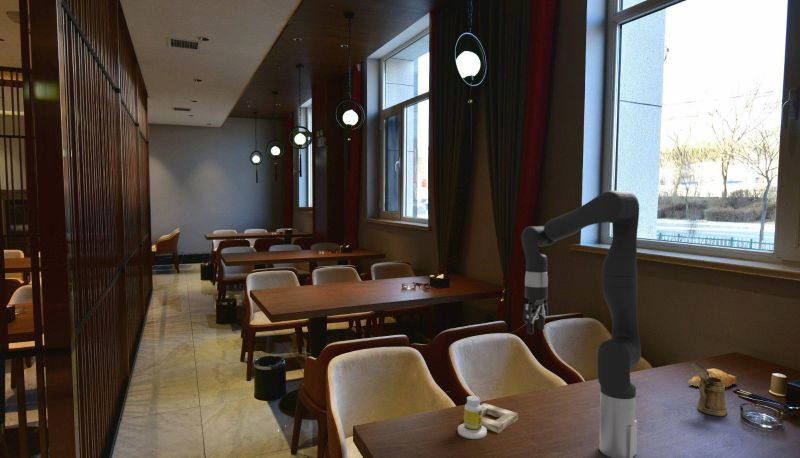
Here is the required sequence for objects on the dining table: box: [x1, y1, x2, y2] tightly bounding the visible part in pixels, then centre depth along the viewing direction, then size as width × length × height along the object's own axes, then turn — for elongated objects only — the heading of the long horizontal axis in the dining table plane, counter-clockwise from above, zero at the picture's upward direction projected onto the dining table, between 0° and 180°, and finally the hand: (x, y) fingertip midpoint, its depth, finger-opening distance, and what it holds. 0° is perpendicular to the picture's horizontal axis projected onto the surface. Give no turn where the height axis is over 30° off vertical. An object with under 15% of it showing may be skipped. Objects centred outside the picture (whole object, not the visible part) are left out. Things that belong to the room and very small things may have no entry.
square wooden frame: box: [480, 402, 519, 434], centre depth 160 cm, size 13×13×2 cm
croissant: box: [687, 367, 738, 388], centre depth 192 cm, size 21×10×8 cm, turn 100°
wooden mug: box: [690, 362, 728, 417], centre depth 167 cm, size 9×14×18 cm, turn 110°
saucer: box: [457, 422, 488, 440], centre depth 151 cm, size 9×9×1 cm
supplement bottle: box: [463, 395, 482, 432], centre depth 151 cm, size 5×5×10 cm
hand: (535, 331), depth 165 cm, fingers open, 8 cm apart
